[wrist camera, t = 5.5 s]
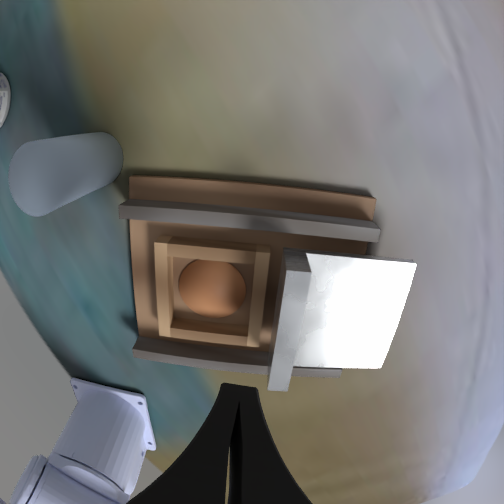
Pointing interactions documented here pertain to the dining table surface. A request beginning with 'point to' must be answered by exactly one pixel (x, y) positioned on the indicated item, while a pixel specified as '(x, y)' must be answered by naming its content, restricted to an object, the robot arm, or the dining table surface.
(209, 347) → the wooden square tray
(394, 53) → the dining table surface
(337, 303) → the cover
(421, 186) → the dining table surface
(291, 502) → the robot arm
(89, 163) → the light blue rounded cylinder
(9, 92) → the energy drink
